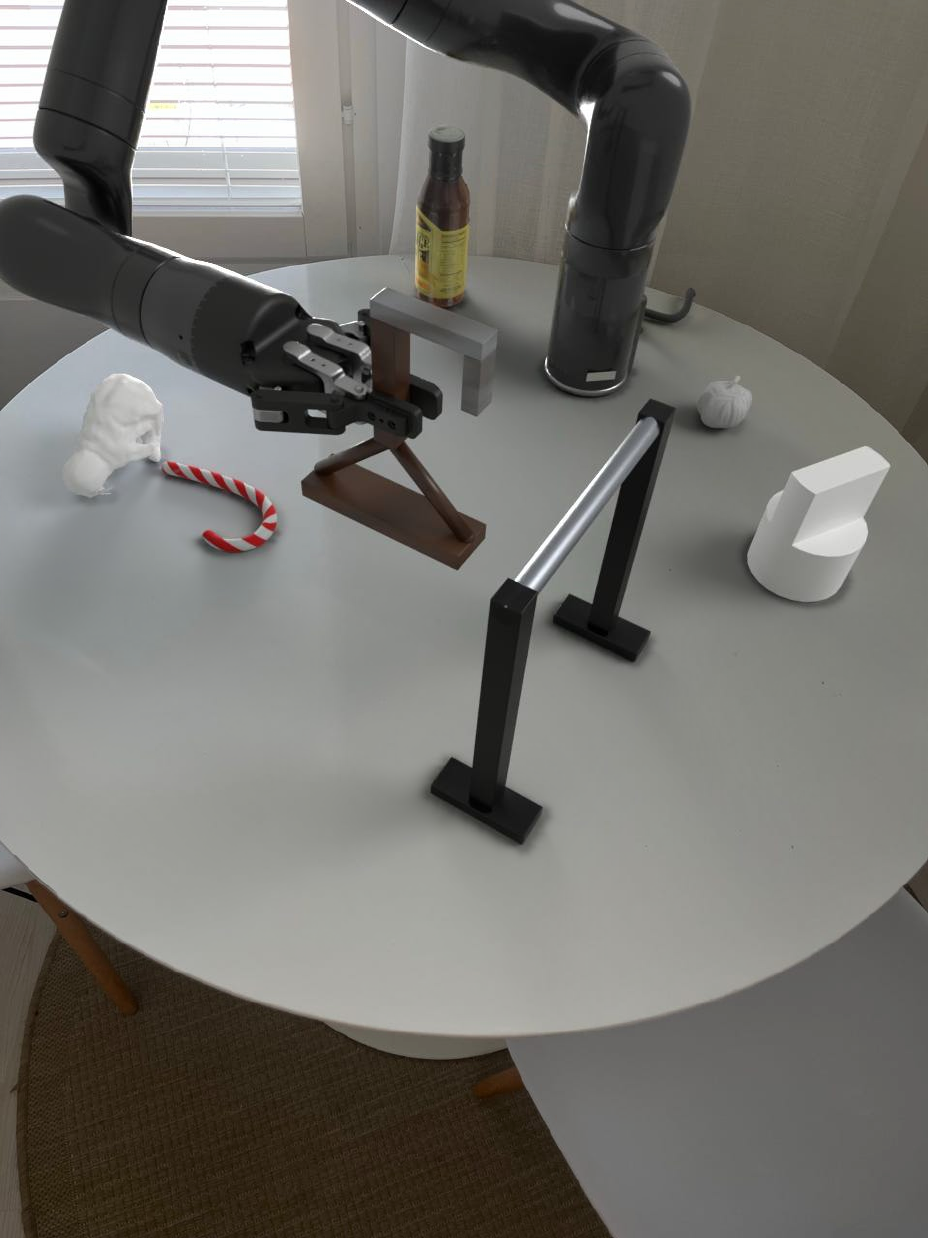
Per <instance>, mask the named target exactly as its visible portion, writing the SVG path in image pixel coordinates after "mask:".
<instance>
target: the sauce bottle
mask: <svg viewBox="0 0 928 1238" xmlns="http://www.w3.org/2000/svg"><path fill="white" fill-rule="evenodd" d="M426 142H427V147H428V166H427V171H426V173H425V177H424V178H423V179H424V180H423V182H422V185H421V187H420V189H419V190H420V191H419V192H418V193H419V194H418V196H417V199H416V204H415V205H416V207H415V248H414V249H415V261H414V262H415V266H414V267H415V268H414V269H415V271H414V273H415V275H414V276H415V277H414V284H415V287H416V288H415V294H416V296H417V299H419V300H422V301H424V302H427V303H429V304H432V305H435V306H437V307H440V308H444V309H445V308H450V307H454V306H456V305H458V304H460V303H461V302H462V300H463V297H464V295H465V290H466V283H467V268H468V267H467V265H468V253H469V252H468V251H469V238H470V237H469V236H470V220H471V218H470V207H471V194H470V190H469V186H468V184H467V183H466V182H465V179H464V178H463V175H462V174H463V153H464V149H465V148H466V147H465V146H466V134H465V131H464V130H463V129H462V128H461V127H457V126H455V125H451V124H440V125H436V126H433V127H432V128H431V129H429V130H428V133H427V141H426Z"/></svg>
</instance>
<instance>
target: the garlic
mask: <svg viewBox="0 0 928 1238" xmlns="http://www.w3.org/2000/svg"><path fill="white" fill-rule="evenodd" d="M740 380H741V376H739V375H736V376H735V378H734V379H733V381H730V380H729V381H727V380H719V381H712V382H710V383H709V384H708V385H707V387H706V388H705V389H704V391H703V392H702V393H701V395H700V396H699V398H698V400H697V403H696V409H697V411H698V413H699V415H700V420H701V422H702V423H703V424H704V425H705V426H707V427H709V428H711V429H731V428H735V427H736V426H738V425H740V423H741V422H742V421H743V419H744V418H745V417H746V416H747V414H748V412H749V410H750V408H751V405H752V402H753V395H752V392H751V391H750V390H749V389H747V388H745V387H743V386H741V385H740V384H738V382H739V381H740Z"/></svg>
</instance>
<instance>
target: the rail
mask: <svg viewBox="0 0 928 1238" xmlns="http://www.w3.org/2000/svg"><path fill="white" fill-rule="evenodd" d="M676 411H677V407H674V406H672V405H669V404H666V403H664V402H661V401H659V400H656V399H653V398H649V399H647V401H646V403H644V404H643V406H642V407H641V408H640V410H639V411H638V413H637V418H636V421H635V423H634V426H633V428H632V429H631V431H630V432H629V433H628V434H627V436H626V437H625V438H624V439H623V441H622V442H621V444H619V446H618V447H617V449H615V450H614V452H613V454H612V455H611V456H610V457H609V459H608V460H607V461H606V463H605V464H604V465H603V466H602V468H601V469H600V470H599V472H598V473H597V474H596V475H595V477H594V478H593V479H592V480H591V481H590V483H589V484H588V485H587V487H586V488H585V489H584V490H583V492H582V493H581V494H580V496H579V497H578V498H577V499H576V501H575V502H574V503H573V504H572V506H570V509H569V510H568V511H567V512H566V514H565V515H564V516H563V517H562V519H561V520H560V521H559V522H558V524H557V525H556V526H555V527H554V529H553V530H552V531H551V532H550V534H549V535H548V536H547V537H546V539H545V540H544V541H543V543H542V544H541V545H540V547H539V548H538V549H537V550H536V552H535V553H534V554H533V555H532V557H531V558H530V559H529V561H528V562H527V563H526V564H525V565H524V566H523V568H522V570H521V571H519V573H518V574H517V576H516V577H515V578H514V579H512V578H510V577H506V578H505V580H504V581H503V582H502V584H501V585H500V586H499V587H498V589H496V591H495V593H494V594H493V595H492V596H491V597H490V599H489V607H488V617H487V627H486V634H485V643H484V644H485V646H484V656H483V662H482V663H483V664H482V672H481V673H482V674H481V681H480V682H481V683H480V690H479V691H480V692H479V702H478V708H477V709H478V710H477V719H476V728H475V737H474V747H473V756H472V766H469V764H468V765H467V764H465V763H464V762H463V761H460V760H458V759H457V758H455V757H454V756H450V758H449V759H448V760H447V762H446V763H445V764H444V766H443V767H442V768H441V770H440V772H439V773H438V774H437V776H436V777H435V779H433V781H432V783H431V784H430V794H432V795H433V796H435V797H437V798H439V799H440V800H441V801H444V802H445V803H448V804H449V805H450V806H453V807H455V808H456V809H458V810H460V811H461V812H463V813H465V814H467V815H469V816H470V817H472V818H474V819H476V820H478V821H479V822H480V823H482V824H484V825H486V826H488V827H490V828H491V829H493V830H495V831H497V832H498V833H500V834H502V835H504V836H505V837H507V838H509V839H510V840H513V841H514V842H516V843H518V844H520V845H522V846H523V845H524V844H525V842H526V841H527V838H529V835H530V834H531V832H532V831H533V829H534V827H536V824H537V822H538V821H539V819H540V817H541V816H542V814H543V809H544V808H543V806H542V805H540V804H538V803H536V802H535V801H533V800H531V799H529V798H528V797H526V796H524V795H522V794H520V793H519V792H516V791H515V790H514V789H512V788H510V787H508V786H506V785H507V779H508V773H509V767H510V762H511V755H512V751H513V745H514V738H515V732H516V726H517V720H518V714H519V710H520V709H519V708H520V702H521V696H522V691H523V685H524V679H525V673H526V667H527V661H528V656H529V649H530V643H531V639H532V638H531V637H532V632H533V625H534V620H535V619H534V618H535V614H536V613H535V612H536V607H537V601H538V596H539V595H540V593H541V592H542V591H543V590H544V588H545V587H546V585H547V584H548V583H549V581H550V580H551V579H552V578H553V576H554V574H555V573H556V572H557V571H558V569H560V567H561V566H562V564H563V563H564V562H565V560H566V559H567V557H568V556H569V555H570V553H571V552H572V551H573V550H574V548H575V547H576V546H577V545H578V543H579V542H580V540H581V539H582V537H583V536H584V535H585V533H586V532H587V531H588V530H589V528H590V527H591V526H592V524H593V523H594V521H595V520H596V519H597V518H598V516H599V515H600V514H601V512H602V511H603V510H604V508H605V507H606V505H607V504H608V503H609V501H610V500H611V499H612V498H613V496H614V495H615V493H616V492H617V491H618V489H619V492H618V496H617V499H616V504H615V507H614V512H613V516H612V520H611V523H610V528H609V532H608V537H607V541H606V545H605V549H604V554H603V558H602V561H601V565H600V571H599V575H598V579H597V582H596V587H595V591H594V594H593V599H592V603H591V602H589V601H586V600H585V599H582V598H581V597H578V596H576V595H574V594H572V593H568V594H567V595H566V597H565V598H564V600H563V601H562V602H561V604H560V605H559V606H558V608H557V609H556V610H555V612H554V614H553V616H552V621H551V622H552V624H553V625H556V626H558V627H560V628H562V629H563V630H566V631H569V632H570V633H572V634H574V635H577V636H579V637H581V638H583V639H585V640H587V641H589V642H591V643H593V644H596V645H597V646H599V647H602V648H604V649H606V650H608V651H610V652H612V653H614V654H615V655H619V657H623V658H624V659H627V660H629V661H631V662H633V663H635V662H636V661H637V659H638V658H639V656H640V654H641V653H642V651H643V649H644V647H645V646H646V644H647V643H648V642H649V640H650V636H651V633H652V631H651V630H649V629H647V628H644V627H643V626H640V625H638V624H636V623H633V622H632V621H630V620H627V619H626V618H623V617H621V616H619V615H620V613H621V609H622V605H623V601H624V597H625V594H626V591H627V586H628V583H629V579H630V576H631V572H632V569H633V565H634V562H635V558H636V554H637V551H638V548H639V545H640V541H641V536H642V532H643V529H644V526H645V522H646V518H647V515H648V512H649V508H650V504H651V502H652V497H653V494H654V490H655V488H656V483H657V480H658V476H659V473H660V468H661V465H662V462H663V459H664V455H665V450H666V447H667V444H668V440H669V437H670V433H671V429H672V426H673V422H674V420H675V415H676Z"/></svg>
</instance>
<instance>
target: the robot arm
mask: <svg viewBox="0 0 928 1238" xmlns="http://www.w3.org/2000/svg"><path fill="white" fill-rule="evenodd" d="M346 1H347V2H349V3H350V4H352V5H354V6H355V7H357V8H359V9H360V10H362V11H364V12H365V13H367V14H368V15H370V16H371V17H373V18H374V19H376V20H377V21H379V22H381V23H382V24H384V25H385V26H388V27H389V28H391V29H392V30H394V31H397V32H398V33H400V34H402V35H403V36H405V37H407V38H408V39H410V40H412V41H414V42H415V43H417V44H419V45H420V46H422V47H424V48H425V49H428V50H430V51H432V52H434V53H435V54H438V55H441V56H443V57H445V58H447V59H448V58H449V59H451V60H454V61H458V62H461V63H464V64H468V65H471V66H477V67H481V68H485V69H488V70H489V69H490V70H493V71H498V72H502V73H505V74H508V75H511V76H514V77H517V78H518V79H520V80H522V81H524V82H525V83H527V84H528V85H531V86H533V87H534V88H535V89H537V90H539V91H540V92H541V93H543V94H545V95H546V96H548V97H549V98H550V99H552V100H553V101H555V102H556V103H557V104H558V105H560V106H561V107H562V108H563V109H565V110H566V111H568V113H570V114H571V115H572V116H573V117H574V118H576V119H577V120H578V122H580V124H581V125H582V126H583V128H584V131H585V133H586V135H587V136H586V145H585V151H584V158H583V164H582V170H581V176H580V181H579V186H578V187H577V188H575V189H574V190H573V191H572V193H571V194H570V196H569V199H568V202H567V210H566V215H565V225H564V231H563V239H562V246H561V247H562V248H561V255H560V260H559V261H560V262H559V267H558V276H557V283H556V288H555V289H556V291H555V296H554V302H553V303H554V304H553V312H552V318H551V325H550V332H549V340H548V345H547V353H546V358H545V363H544V373H545V376H546V377H547V379H548V380H549V381H550V382H551V383H552V384H553V385H554V386H555V387H557V388H558V389H560V390H562V391H563V392H565V393H566V392H567V393H569V394H572V395H577V396H579V397H602V396H608V395H611V394H612V393H615V392H618V391H619V390H620V389H621V388H622V387H623V386H624V384H625V383H626V380H627V376H628V374H630V373H632V371H633V366H634V362H635V357H636V354H637V348H638V345H639V340H640V336H641V334H642V333H643V331H644V327H643V322H644V319H645V317H646V318H648V319H652V320H654V321H658V322H661V323H666V324H668V323H669V324H672V323H676V322H680V321H682V320H683V319H684V318H685V317H686V316H687V315H688V314H689V312H690V310H691V308H692V305H693V301H694V297H696V296H697V295H696V294H697V292H696V290H695V289H694V288H693V287H689V288H687V289H686V291H685V297H684V302H683V305H682V307H681V308H680V310H679V311H677V312H676V313H672V314H671V313H664V312H660V311H657V310H654V309H651V308H648V307H647V304H648V297H647V295H646V294H645V291H646V286H647V281H648V277H649V272H650V267H651V262H652V258H653V253H654V250H655V244H656V240H657V235H658V231H659V228H660V227H659V226H660V224H661V221H662V220H663V218H664V217H665V215H666V213H667V212H668V210H669V208H670V206H671V203H672V200H673V197H674V193H675V189H676V185H677V182H678V178H679V174H680V171H681V167H682V162H683V159H684V155H685V151H686V147H687V143H688V139H689V134H690V128H691V124H692V114H693V113H692V112H693V100H692V94H691V90H690V87H689V84H688V83H687V81H686V79H685V78H684V76H683V74H682V73H681V72H680V69H678V68H677V66H676V64H675V63H674V62H673V60H672V58H671V57H670V56H669V55H668V53H667V52H666V51H665V49H664V48H663V47H662V46H661V45H659V44H658V43H657V42H656V41H655V40H653V39H651V38H650V37H648V36H646V35H644V34H643V33H640V32H638V31H636V30H634V29H632V28H630V27H627V26H625V25H622V24H621V23H619V22H616V21H615V20H612V19H610V18H608V17H606V16H604V15H602V14H600V13H598V12H596V11H594V10H592V9H590V8H588V7H586V6H584V5H583V4H580V3H578V2H577V1H575V0H346ZM169 3H170V0H64V2H63V6H62V9H61V13H60V17H59V20H58V24H57V27H56V31H55V35H54V37H53V38H54V39H53V43H52V47H51V51H50V54H49V59H48V63H47V66H46V72H45V76H44V80H43V85H42V89H41V93H40V98H39V102H38V107H37V111H36V115H35V120H34V125H33V131H32V144H33V147H34V150H35V151H36V153H37V155H38V156H39V157H40V158H41V159H42V160H43V161H44V162H45V163H46V164H47V165H48V166H49V167H51V168H52V169H53V170H54V171H55V172H56V174H58V176H59V177H60V179H61V181H62V185H63V195H64V197H63V198H64V206H62V205H61V204H59V203H56V202H54V201H52V200H50V199H48V198H45V197H43V196H40V195H36V194H16V195H11V196H9V197H5V199H2V200H0V281H1V282H2V283H3V284H4V285H6V286H7V287H9V288H10V289H11V290H13V291H15V292H17V293H19V294H21V295H24V296H27V297H29V298H31V299H34V300H37V301H40V302H43V303H45V304H48V305H50V306H53V307H56V308H60V309H62V310H65V311H68V312H70V313H73V314H75V315H78V316H82V317H85V318H88V319H90V320H93V321H95V322H97V323H99V324H101V325H103V326H105V327H107V328H109V329H111V330H113V331H115V332H116V333H118V334H120V335H122V336H123V337H125V338H127V339H129V340H130V341H134V342H135V343H138V344H140V345H143V346H145V347H147V348H149V349H151V350H154V351H156V352H159V353H160V354H162V355H163V356H164V357H167V358H168V359H169V360H170V361H172V362H174V363H176V364H177V365H179V366H181V367H183V368H185V369H187V370H189V371H191V372H194V373H196V374H198V375H200V376H202V377H205V378H207V379H209V380H211V381H213V382H216V383H218V384H220V385H222V386H224V387H227V388H229V389H231V390H233V391H236V392H237V393H240V394H242V395H244V396H246V397H249V398H250V403H251V408H252V409H251V410H252V415H253V422H254V428H255V429H256V430H258V431H260V432H272V433H273V432H274V433H290V434H291V433H293V434H305V435H307V434H308V435H322V436H324V435H325V436H341V435H343V434H345V432H346V430H347V428H346V427H348V426H349V425H352V424H355V425H359V426H363V425H366V424H369V425H370V426H375V427H377V428H380V429H382V430H385V431H386V432H390V433H391V434H393V435H395V436H400V437H408V438H407V439H410V440H415V439H417V438H418V436H420V435H421V434H422V432H423V422H424V421H423V418H426V419H428V420H430V421H435V420H436V419H437V418H438V417H439V416H440V415H442V413H443V402H444V395H443V391H442V390H441V388H440V387H439V386H438V385H437V384H436V383H434V382H431V381H429V380H426V379H425V378H422V377H420V376H418V375H415V374H412V373H410V403H408V402H406V401H404V400H401V399H399V398H397V397H394V396H391V395H389V394H387V393H384V392H382V391H380V390H377V389H374V390H372V364H371V331H370V308H361V309H359V310H357V320H355V321H351V322H347V323H343V324H339V323H338V322H337V321H335V320H334V319H330V318H320V317H314V316H312V315H310V314H309V312H307V311H306V309H305V308H304V307H303V306H302V305H301V304H300V302H299V301H298V300H297V299H296V298H295V297H293V296H292V295H291V294H288V293H286V292H284V291H281V290H279V289H276V288H274V287H271V286H269V285H267V284H264V283H262V282H259V281H256V280H254V279H252V278H249V277H246V276H245V275H242V274H240V273H237V272H235V271H232V270H229V269H226V268H224V267H222V266H219V265H217V264H213V263H209V262H205V261H202V260H195V259H194V258H190V257H187V256H184V255H183V254H180V253H177V252H175V251H172V250H170V249H168V248H165V247H163V246H161V245H157V244H154V243H152V242H148V241H144V240H141V239H137V238H134V237H133V235H134V234H133V233H134V230H133V229H134V226H133V224H134V223H133V222H134V221H133V220H134V219H133V218H134V216H133V215H134V214H133V213H134V197H133V196H134V195H133V167H134V164H135V160H136V156H137V151H138V149H139V145H140V141H141V137H142V134H143V129H144V124H145V120H146V116H147V112H148V108H149V104H150V100H151V95H152V90H153V86H154V81H155V76H156V70H157V66H158V61H159V56H160V50H161V44H162V39H163V38H162V37H163V32H164V27H165V22H166V18H167V13H168V7H169ZM313 410H314V411H318V412H320V413H323V414H325V416H324V417H323V416H311V415H310V414H309V411H313Z"/></svg>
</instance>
